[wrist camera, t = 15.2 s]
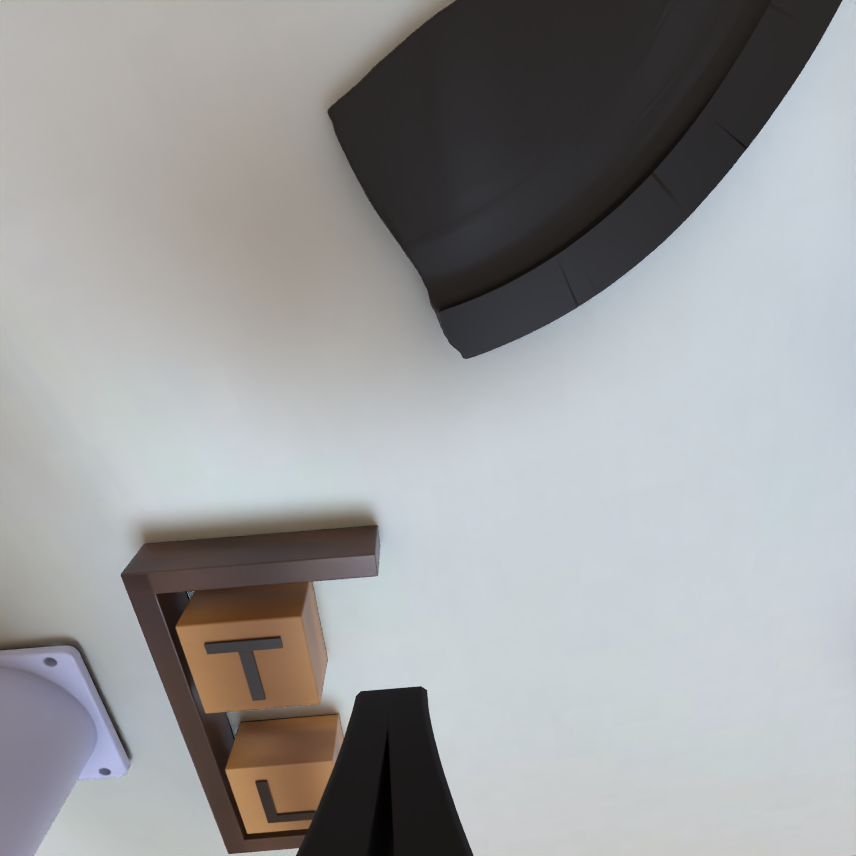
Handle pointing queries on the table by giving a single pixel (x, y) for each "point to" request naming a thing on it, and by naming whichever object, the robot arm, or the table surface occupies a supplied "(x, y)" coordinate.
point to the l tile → (282, 770)
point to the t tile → (254, 646)
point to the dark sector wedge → (560, 141)
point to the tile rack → (216, 569)
